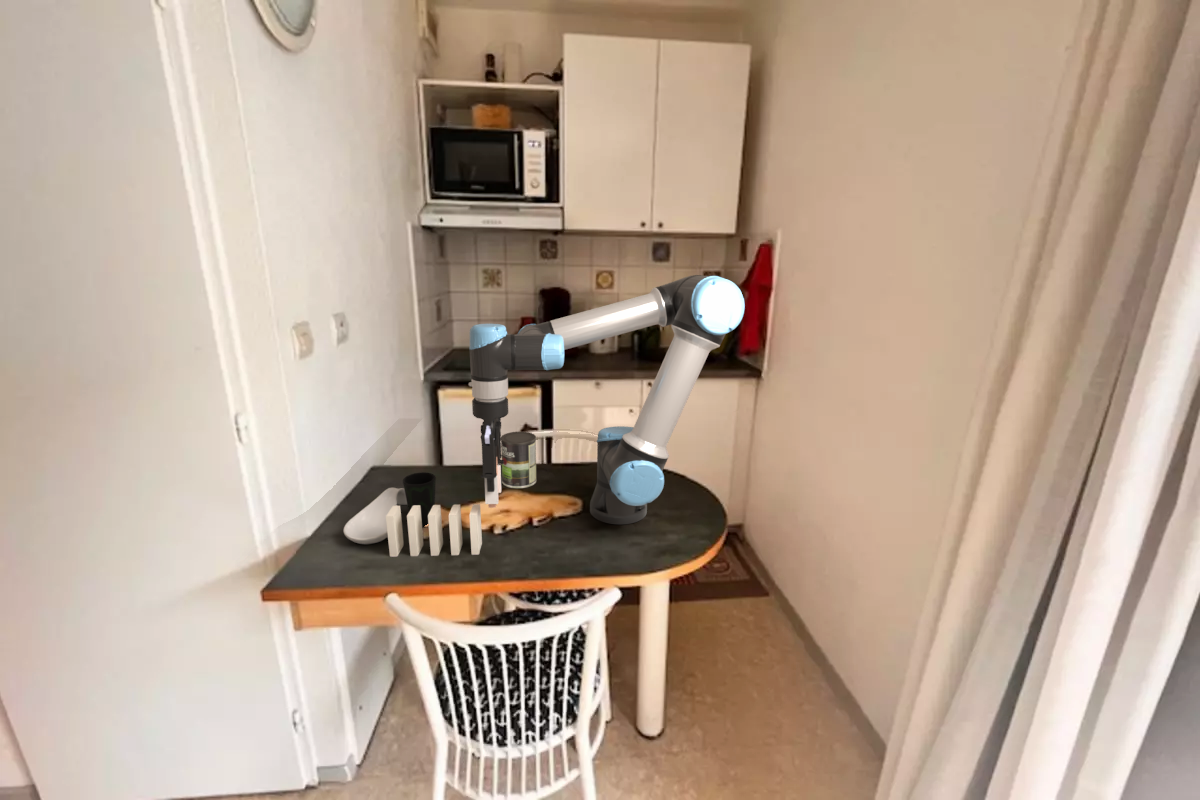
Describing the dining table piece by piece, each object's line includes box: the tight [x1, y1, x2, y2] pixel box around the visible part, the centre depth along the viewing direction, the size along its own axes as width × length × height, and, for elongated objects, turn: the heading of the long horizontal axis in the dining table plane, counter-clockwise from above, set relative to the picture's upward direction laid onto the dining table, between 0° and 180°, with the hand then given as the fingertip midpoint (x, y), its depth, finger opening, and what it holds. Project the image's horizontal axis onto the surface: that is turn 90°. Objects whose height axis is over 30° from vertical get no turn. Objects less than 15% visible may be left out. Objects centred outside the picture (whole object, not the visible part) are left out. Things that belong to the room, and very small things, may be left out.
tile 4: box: [406, 505, 424, 557], centre depth 118 cm, size 2×5×10 cm, turn 4°
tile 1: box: [468, 503, 483, 556], centre depth 119 cm, size 2×5×10 cm, turn 4°
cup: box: [402, 471, 437, 529], centre depth 130 cm, size 8×8×12 cm
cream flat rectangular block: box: [386, 505, 405, 558], centre depth 118 cm, size 2×5×10 cm, turn 4°
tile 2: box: [448, 504, 464, 556], centre depth 119 cm, size 2×5×10 cm, turn 4°
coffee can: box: [501, 431, 537, 489], centre depth 155 cm, size 10×10×14 cm
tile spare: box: [487, 457, 499, 509], centre depth 116 cm, size 2×5×10 cm, turn 4°
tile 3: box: [428, 504, 444, 557], centre depth 119 cm, size 2×5×10 cm, turn 4°
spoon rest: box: [342, 487, 408, 545], centre depth 129 cm, size 24×12×7 cm, turn 177°
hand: (493, 497), depth 117 cm, fingers closed on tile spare, 5 cm apart
